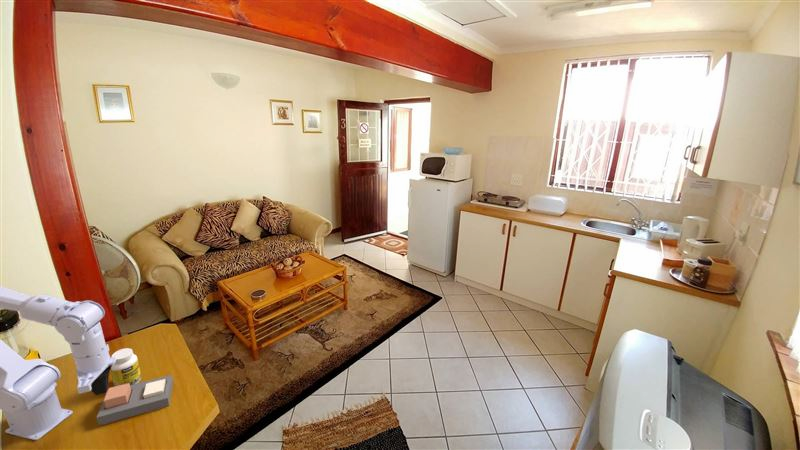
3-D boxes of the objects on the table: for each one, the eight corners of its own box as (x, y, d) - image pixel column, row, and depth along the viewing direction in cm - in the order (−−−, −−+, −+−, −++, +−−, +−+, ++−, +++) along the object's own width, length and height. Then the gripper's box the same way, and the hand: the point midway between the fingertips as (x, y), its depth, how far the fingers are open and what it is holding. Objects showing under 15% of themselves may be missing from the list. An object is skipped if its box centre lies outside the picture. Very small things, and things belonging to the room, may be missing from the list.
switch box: (99, 425, 80) (96, 417, 79) (109, 398, 88) (107, 390, 87) (169, 405, 88) (167, 397, 87) (173, 382, 95) (171, 374, 94)
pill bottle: (126, 393, 90) (119, 363, 86) (109, 387, 91) (101, 358, 87) (146, 377, 96) (140, 348, 92) (130, 372, 97) (124, 344, 93)
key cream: (145, 403, 86) (143, 395, 85) (148, 391, 90) (146, 383, 89) (164, 398, 89) (162, 390, 88) (166, 387, 92) (165, 378, 91)
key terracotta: (106, 409, 82) (103, 400, 81) (111, 396, 86) (108, 388, 85) (127, 403, 84) (125, 395, 83) (131, 391, 88) (129, 383, 87)
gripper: (102, 366, 70) (113, 409, 74) (119, 327, 82) (128, 367, 86) (58, 375, 67) (73, 420, 71) (83, 334, 78) (95, 375, 83)
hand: (101, 392), depth 78 cm, fingers closed
